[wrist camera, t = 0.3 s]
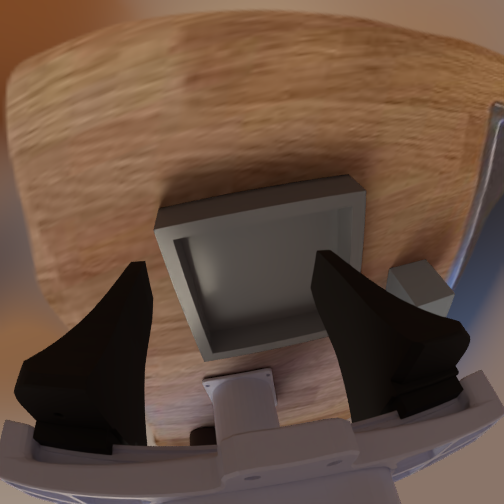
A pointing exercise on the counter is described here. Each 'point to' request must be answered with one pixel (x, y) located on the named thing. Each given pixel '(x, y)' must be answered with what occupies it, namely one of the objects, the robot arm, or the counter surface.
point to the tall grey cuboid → (420, 287)
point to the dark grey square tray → (258, 261)
